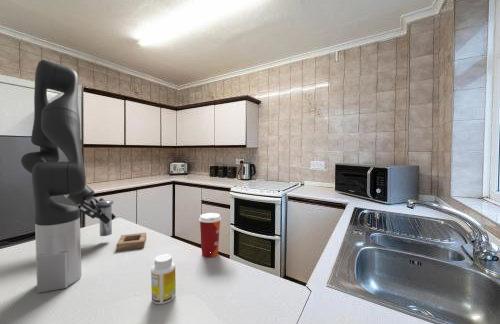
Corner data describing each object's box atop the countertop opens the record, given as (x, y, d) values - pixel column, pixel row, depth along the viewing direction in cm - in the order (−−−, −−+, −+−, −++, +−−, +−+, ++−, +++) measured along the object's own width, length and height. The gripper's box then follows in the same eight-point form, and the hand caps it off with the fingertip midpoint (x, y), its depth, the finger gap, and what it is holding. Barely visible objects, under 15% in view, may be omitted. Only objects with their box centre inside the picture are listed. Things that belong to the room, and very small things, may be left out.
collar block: (144, 247, 81) (143, 240, 81) (116, 251, 78) (116, 244, 78) (146, 238, 90) (146, 232, 89) (121, 241, 86) (121, 235, 86)
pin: (111, 235, 84) (111, 202, 83) (96, 237, 82) (95, 203, 81) (114, 231, 89) (114, 200, 88) (100, 233, 87) (99, 201, 86)
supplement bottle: (177, 289, 57) (177, 252, 56) (172, 304, 51) (172, 262, 51) (155, 291, 56) (155, 252, 56) (147, 306, 50) (147, 263, 50)
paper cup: (223, 257, 74) (223, 217, 74) (200, 261, 72) (200, 219, 71) (218, 247, 82) (218, 211, 81) (197, 251, 79) (197, 213, 78)
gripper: (72, 186, 76) (110, 218, 79) (93, 181, 90) (125, 209, 93) (55, 201, 76) (94, 233, 78) (79, 194, 90) (112, 221, 92)
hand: (111, 220), depth 85 cm, fingers closed on pin, 4 cm apart
